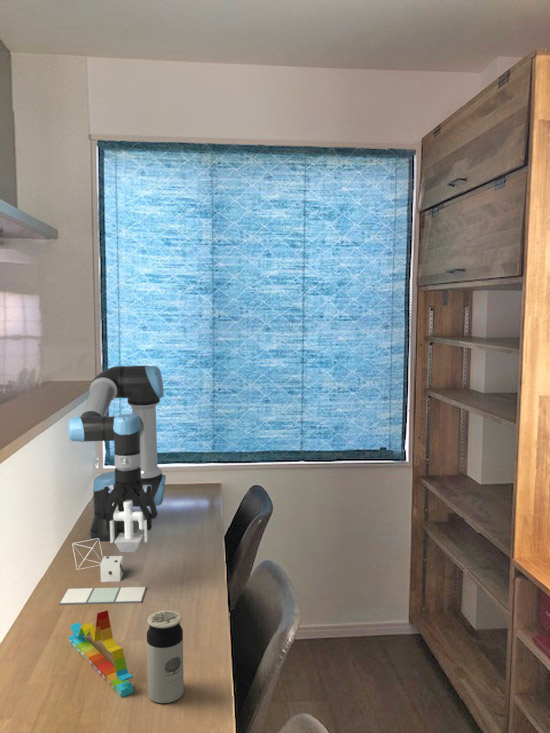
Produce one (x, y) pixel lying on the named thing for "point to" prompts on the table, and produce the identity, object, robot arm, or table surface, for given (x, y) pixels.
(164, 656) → the travel mug
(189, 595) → the table surface
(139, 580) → the table surface
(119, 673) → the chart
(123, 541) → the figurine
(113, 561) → the die
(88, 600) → the game mat
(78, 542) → the geometric polyhedron
